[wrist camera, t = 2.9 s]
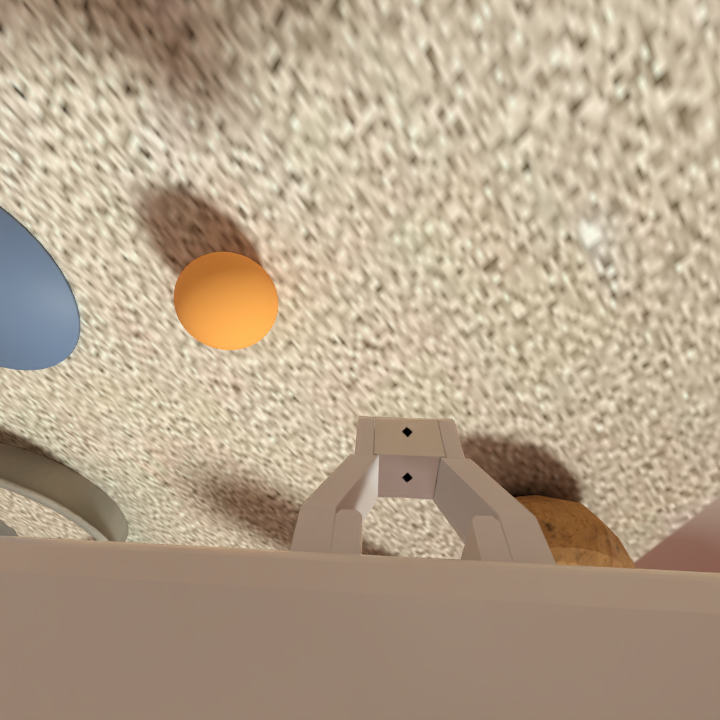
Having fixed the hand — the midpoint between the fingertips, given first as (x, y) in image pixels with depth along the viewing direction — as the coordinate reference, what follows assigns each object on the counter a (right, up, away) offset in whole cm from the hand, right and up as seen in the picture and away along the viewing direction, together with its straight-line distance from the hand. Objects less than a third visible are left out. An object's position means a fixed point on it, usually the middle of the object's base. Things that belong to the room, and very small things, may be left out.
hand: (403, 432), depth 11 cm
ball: (-9, +6, +8) cm, 13 cm away
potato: (+15, -12, +21) cm, 29 cm away
